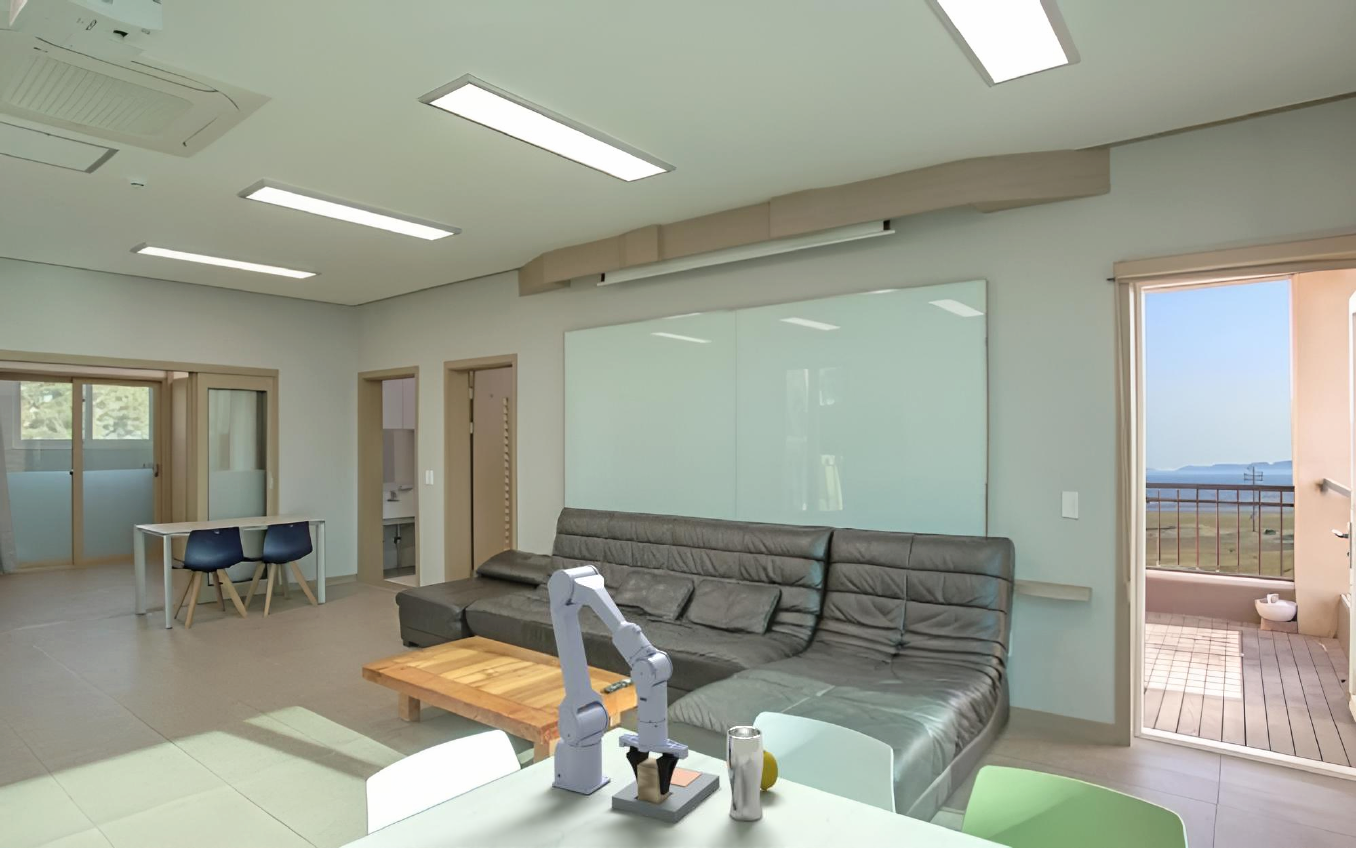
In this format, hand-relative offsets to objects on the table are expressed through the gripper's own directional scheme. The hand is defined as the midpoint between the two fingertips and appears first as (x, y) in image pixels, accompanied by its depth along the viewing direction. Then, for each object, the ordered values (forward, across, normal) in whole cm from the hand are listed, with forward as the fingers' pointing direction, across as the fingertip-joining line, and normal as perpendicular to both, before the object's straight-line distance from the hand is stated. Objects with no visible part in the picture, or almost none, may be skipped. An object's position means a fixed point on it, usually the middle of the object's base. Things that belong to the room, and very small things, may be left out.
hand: (653, 790), depth 145 cm
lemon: (+3, +16, +16) cm, 23 cm away
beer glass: (+3, +17, +5) cm, 18 cm away
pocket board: (+3, 0, +5) cm, 6 cm away
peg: (+3, 0, 0) cm, 3 cm away
